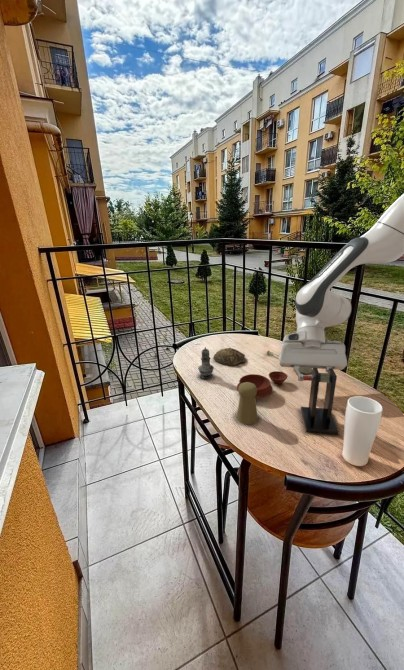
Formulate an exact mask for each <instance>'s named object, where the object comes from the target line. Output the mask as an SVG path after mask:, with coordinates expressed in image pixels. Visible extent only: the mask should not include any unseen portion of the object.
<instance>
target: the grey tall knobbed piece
mask: <svg viewBox="0 0 404 670" xmlns="http://www.w3.org/2000/svg"><path fill="white" fill-rule="evenodd" d="M211 359H212V358H211V357H210V350H209V349H208V348H207V347H204V348H203V349H202V350H201V358H200V360H201V365H198V367H197V370H198V372H199V373H200V374H199V375H198V376H199V379H200V380H204V381H209V380H211V379H213V378H214V374H213V371H214V370H215V368H214V365H212V364H211Z"/></svg>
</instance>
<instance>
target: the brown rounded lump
mask: <svg viewBox="0 0 404 670" xmlns="http://www.w3.org/2000/svg"><path fill="white" fill-rule="evenodd" d="M245 357H246V354H245V353H242V352H241V351H239V350H238V349H235V348H232V347H225V348H221V349H219V350H216V352H215V353H214V355H213V361H215V362H217V363H219V364H221V365H227V366H236V365H239V364H240V363H243V364H244V363H246V358H245Z"/></svg>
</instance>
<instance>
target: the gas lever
mask: <svg viewBox="0 0 404 670" xmlns="http://www.w3.org/2000/svg"><path fill="white" fill-rule="evenodd" d="M319 374H320V380H319V383H325V384H327V383H329V382H330V379H329V373H327V372H319ZM303 381H309V382H311V381H312V379H311V375H303Z"/></svg>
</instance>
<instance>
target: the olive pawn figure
mask: <svg viewBox="0 0 404 670" xmlns="http://www.w3.org/2000/svg"><path fill="white" fill-rule="evenodd" d="M237 392H238V394H239V399H238V406H237V412H236V420H237V421H238V422H239V423H240V424H244V425H252V424H255V423H257V421H258V410H257V403H256V398H255V395H256V394H257V387H256V386H255V384H253V383H250V382H244V383H241V384H240V386H239V388H238V390H237Z"/></svg>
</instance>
